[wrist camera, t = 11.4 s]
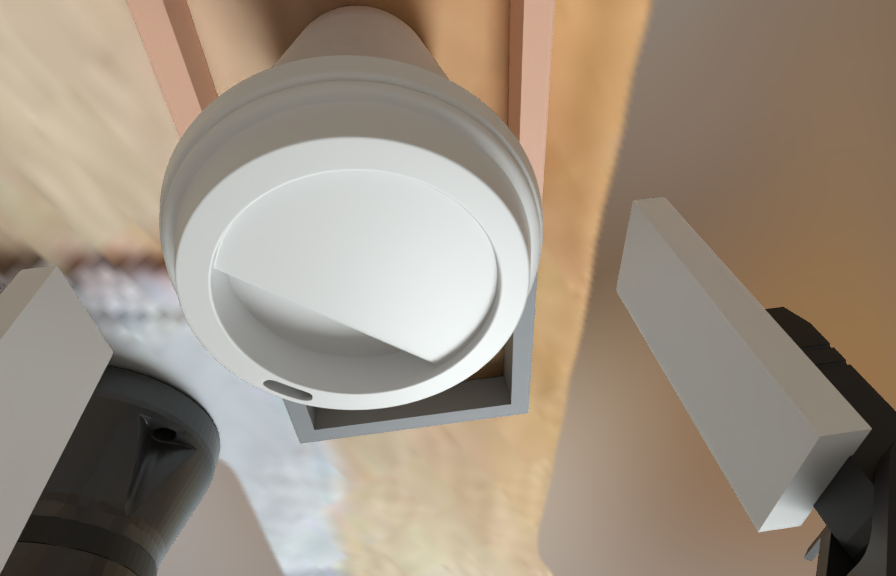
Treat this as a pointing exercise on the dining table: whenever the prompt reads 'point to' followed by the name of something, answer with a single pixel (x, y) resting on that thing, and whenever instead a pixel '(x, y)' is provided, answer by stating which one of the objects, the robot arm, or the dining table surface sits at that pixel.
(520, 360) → the cup caddy
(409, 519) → the dining table surface
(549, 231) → the dining table surface
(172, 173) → the coffee cup
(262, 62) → the dining table surface
